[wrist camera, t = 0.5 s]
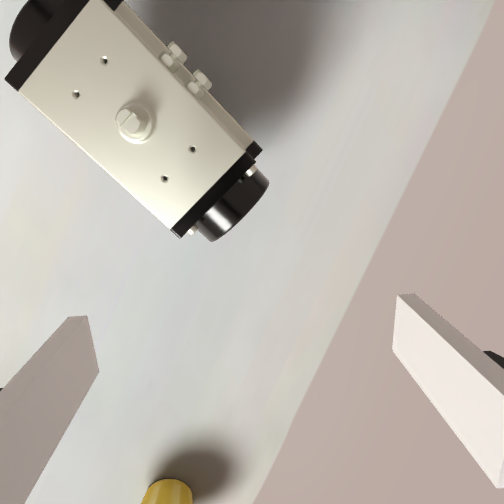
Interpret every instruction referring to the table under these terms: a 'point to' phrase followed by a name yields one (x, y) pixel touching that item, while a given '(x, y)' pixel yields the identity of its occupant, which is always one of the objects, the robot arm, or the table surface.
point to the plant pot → (168, 493)
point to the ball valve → (137, 112)
